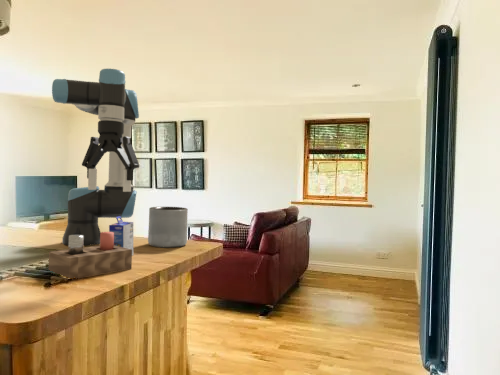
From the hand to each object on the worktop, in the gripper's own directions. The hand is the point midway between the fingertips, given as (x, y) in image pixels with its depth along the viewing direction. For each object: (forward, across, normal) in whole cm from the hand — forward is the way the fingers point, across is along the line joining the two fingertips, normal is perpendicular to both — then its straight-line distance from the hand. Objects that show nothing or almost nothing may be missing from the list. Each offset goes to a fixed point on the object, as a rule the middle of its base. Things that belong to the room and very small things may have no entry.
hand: (109, 190), depth 125 cm
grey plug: (+19, -4, -9) cm, 21 cm away
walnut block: (+24, -3, -4) cm, 25 cm away
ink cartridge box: (+24, -8, +15) cm, 30 cm away
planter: (+24, -10, +46) cm, 53 cm away
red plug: (+19, -1, +1) cm, 19 cm away
